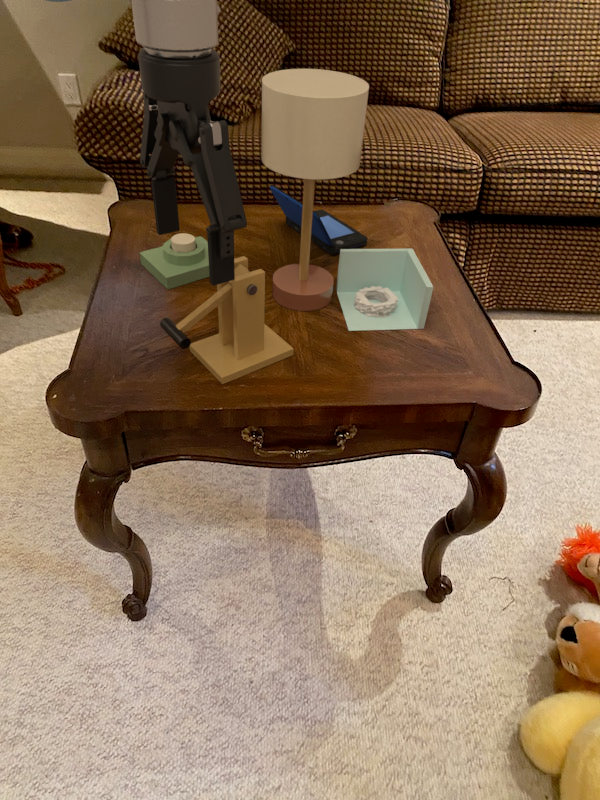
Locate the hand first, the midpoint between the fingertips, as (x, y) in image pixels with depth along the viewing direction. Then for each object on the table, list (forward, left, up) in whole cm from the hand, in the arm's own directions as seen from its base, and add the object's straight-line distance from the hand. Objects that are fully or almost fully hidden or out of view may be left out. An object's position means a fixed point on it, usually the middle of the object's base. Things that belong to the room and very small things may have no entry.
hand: (193, 255), depth 69 cm
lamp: (+24, +9, -18) cm, 31 cm away
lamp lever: (+3, +1, -9) cm, 10 cm away
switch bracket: (+7, +1, -18) cm, 19 cm away
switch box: (+12, +27, -18) cm, 35 cm away
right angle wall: (+32, -1, -18) cm, 37 cm away
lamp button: (+12, +27, -14) cm, 33 cm away
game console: (+39, +24, -18) cm, 49 cm away
